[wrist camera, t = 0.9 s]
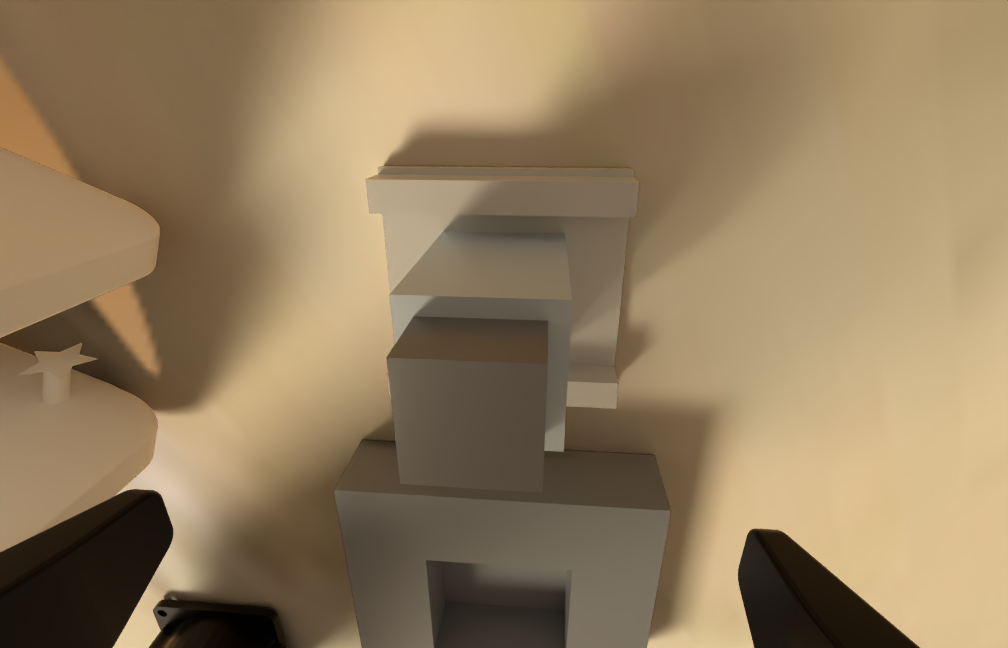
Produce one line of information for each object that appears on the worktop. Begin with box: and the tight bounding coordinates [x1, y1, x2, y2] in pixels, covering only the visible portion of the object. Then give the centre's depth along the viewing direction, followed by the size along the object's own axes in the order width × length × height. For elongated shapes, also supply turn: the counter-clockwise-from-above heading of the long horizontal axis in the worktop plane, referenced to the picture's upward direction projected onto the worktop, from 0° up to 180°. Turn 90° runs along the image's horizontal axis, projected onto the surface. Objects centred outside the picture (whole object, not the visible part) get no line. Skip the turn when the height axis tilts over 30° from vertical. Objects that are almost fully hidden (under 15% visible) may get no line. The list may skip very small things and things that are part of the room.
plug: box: [387, 231, 572, 493], centre depth 13 cm, size 4×4×8 cm
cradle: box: [366, 166, 640, 409], centre depth 17 cm, size 8×8×2 cm
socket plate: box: [334, 440, 671, 648], centre depth 21 cm, size 12×12×3 cm
